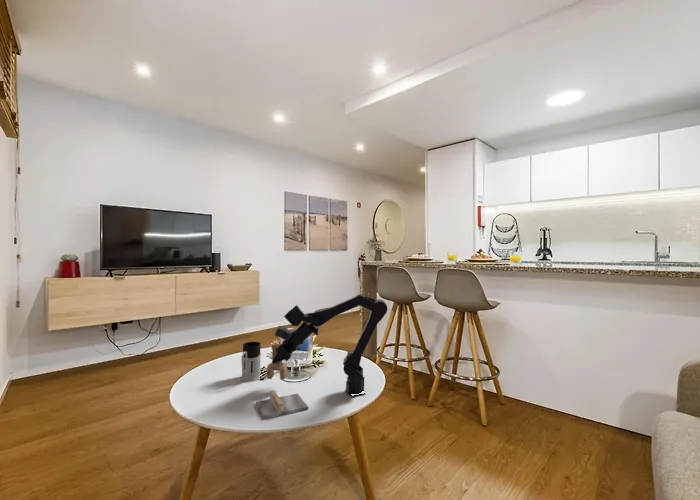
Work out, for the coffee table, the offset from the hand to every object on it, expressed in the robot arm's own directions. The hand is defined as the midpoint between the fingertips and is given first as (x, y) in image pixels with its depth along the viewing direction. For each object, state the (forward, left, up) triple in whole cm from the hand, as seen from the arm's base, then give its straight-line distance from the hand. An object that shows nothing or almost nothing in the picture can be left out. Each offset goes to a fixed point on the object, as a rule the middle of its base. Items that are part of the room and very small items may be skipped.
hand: (273, 360), depth 133 cm
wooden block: (-1, +1, -7) cm, 7 cm away
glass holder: (+7, -14, -12) cm, 20 cm away
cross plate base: (+1, +16, -12) cm, 20 cm away
